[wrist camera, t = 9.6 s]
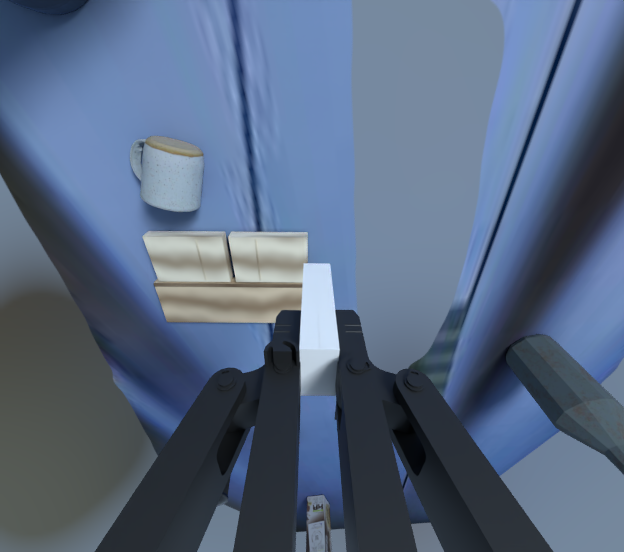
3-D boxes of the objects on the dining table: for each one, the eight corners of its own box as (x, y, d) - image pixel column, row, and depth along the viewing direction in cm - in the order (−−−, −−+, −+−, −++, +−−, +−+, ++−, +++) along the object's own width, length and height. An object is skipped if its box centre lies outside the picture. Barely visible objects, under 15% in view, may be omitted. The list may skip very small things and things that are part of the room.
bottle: (540, 366, 63) (696, 544, 38) (497, 366, 63) (624, 543, 38) (562, 332, 58) (761, 512, 32) (515, 332, 58) (677, 512, 32)
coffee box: (306, 496, 98) (305, 560, 84) (323, 494, 97) (325, 558, 83) (313, 506, 103) (313, 569, 89) (330, 504, 102) (333, 567, 88)
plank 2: (231, 231, 46) (228, 237, 44) (307, 232, 46) (307, 238, 44) (238, 275, 51) (236, 282, 49) (307, 276, 51) (307, 282, 49)
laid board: (159, 276, 51) (153, 283, 49) (313, 278, 51) (313, 284, 49) (171, 315, 55) (166, 322, 54) (312, 316, 56) (312, 323, 54)
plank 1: (148, 230, 46) (142, 236, 44) (225, 231, 46) (221, 237, 44) (163, 275, 50) (158, 281, 49) (233, 275, 51) (230, 282, 49)
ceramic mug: (212, 147, 39) (191, 155, 33) (207, 202, 44) (188, 219, 37) (134, 123, 38) (96, 126, 32) (137, 182, 42) (103, 196, 36)
